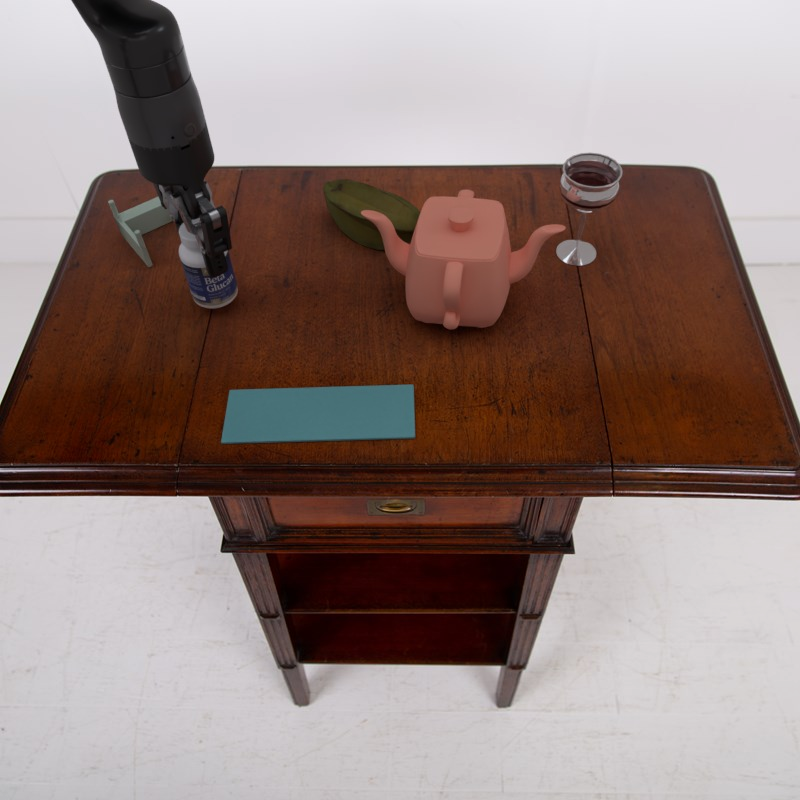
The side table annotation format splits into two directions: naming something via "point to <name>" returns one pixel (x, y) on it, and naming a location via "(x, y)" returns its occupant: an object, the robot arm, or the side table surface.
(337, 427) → the strip
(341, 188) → the fruit
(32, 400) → the side table surface
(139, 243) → the rack
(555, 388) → the side table surface
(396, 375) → the side table surface
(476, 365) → the side table surface
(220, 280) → the pill bottle
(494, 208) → the teapot
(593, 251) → the wineglass
